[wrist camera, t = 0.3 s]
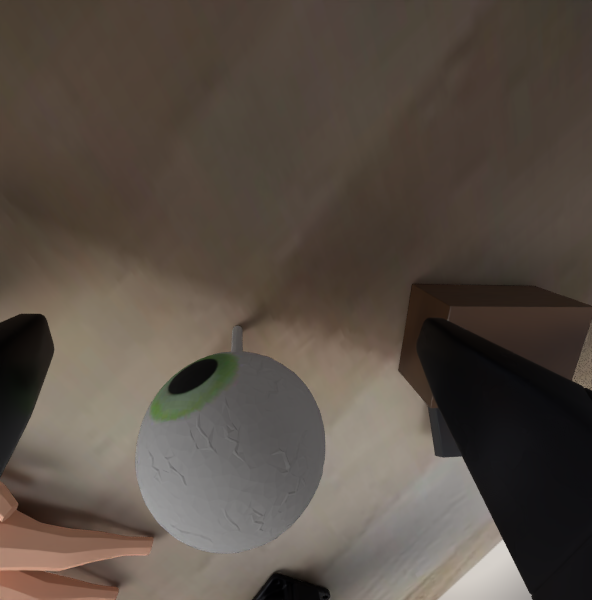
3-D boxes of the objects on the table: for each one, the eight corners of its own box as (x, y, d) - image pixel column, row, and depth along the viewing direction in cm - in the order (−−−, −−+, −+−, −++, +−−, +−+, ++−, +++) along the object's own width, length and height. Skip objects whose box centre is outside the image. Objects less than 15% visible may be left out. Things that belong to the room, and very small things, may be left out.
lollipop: (261, 262, 24) (291, 381, 9) (304, 349, 26) (379, 546, 12) (164, 309, 24) (50, 497, 9) (216, 391, 26) (186, 637, 12)
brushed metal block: (512, 367, 29) (564, 403, 25) (398, 370, 28) (430, 408, 23) (534, 285, 27) (596, 307, 23) (411, 283, 26) (450, 306, 21)
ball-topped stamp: (467, 432, 31) (561, 532, 22) (419, 434, 30) (495, 539, 21) (487, 344, 28) (601, 416, 19) (436, 344, 28) (530, 419, 19)
